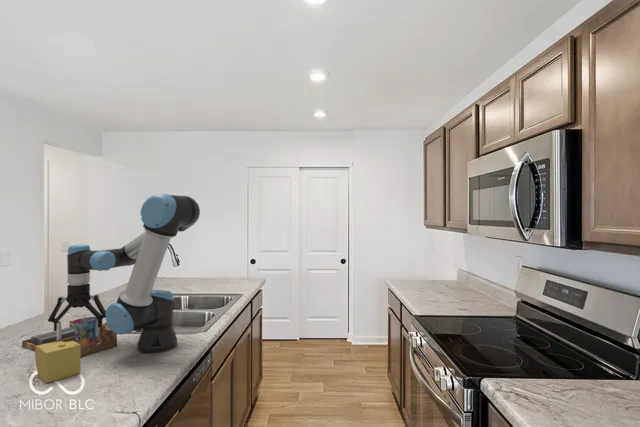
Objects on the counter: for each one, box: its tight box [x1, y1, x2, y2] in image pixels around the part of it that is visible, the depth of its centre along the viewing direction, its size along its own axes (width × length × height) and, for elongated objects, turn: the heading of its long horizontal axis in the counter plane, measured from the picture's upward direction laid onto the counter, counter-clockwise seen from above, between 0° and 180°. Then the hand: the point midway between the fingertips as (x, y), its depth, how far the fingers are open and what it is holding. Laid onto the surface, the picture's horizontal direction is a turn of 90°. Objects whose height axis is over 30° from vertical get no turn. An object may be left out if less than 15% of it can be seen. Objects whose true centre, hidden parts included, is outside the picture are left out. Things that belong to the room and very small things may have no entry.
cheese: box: [34, 341, 82, 384], centre depth 124 cm, size 10×11×10 cm
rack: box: [21, 320, 118, 358], centre depth 151 cm, size 32×19×8 cm, turn 62°
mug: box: [69, 316, 99, 350], centre depth 149 cm, size 12×9×11 cm
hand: (78, 337), depth 148 cm, fingers open, 13 cm apart
